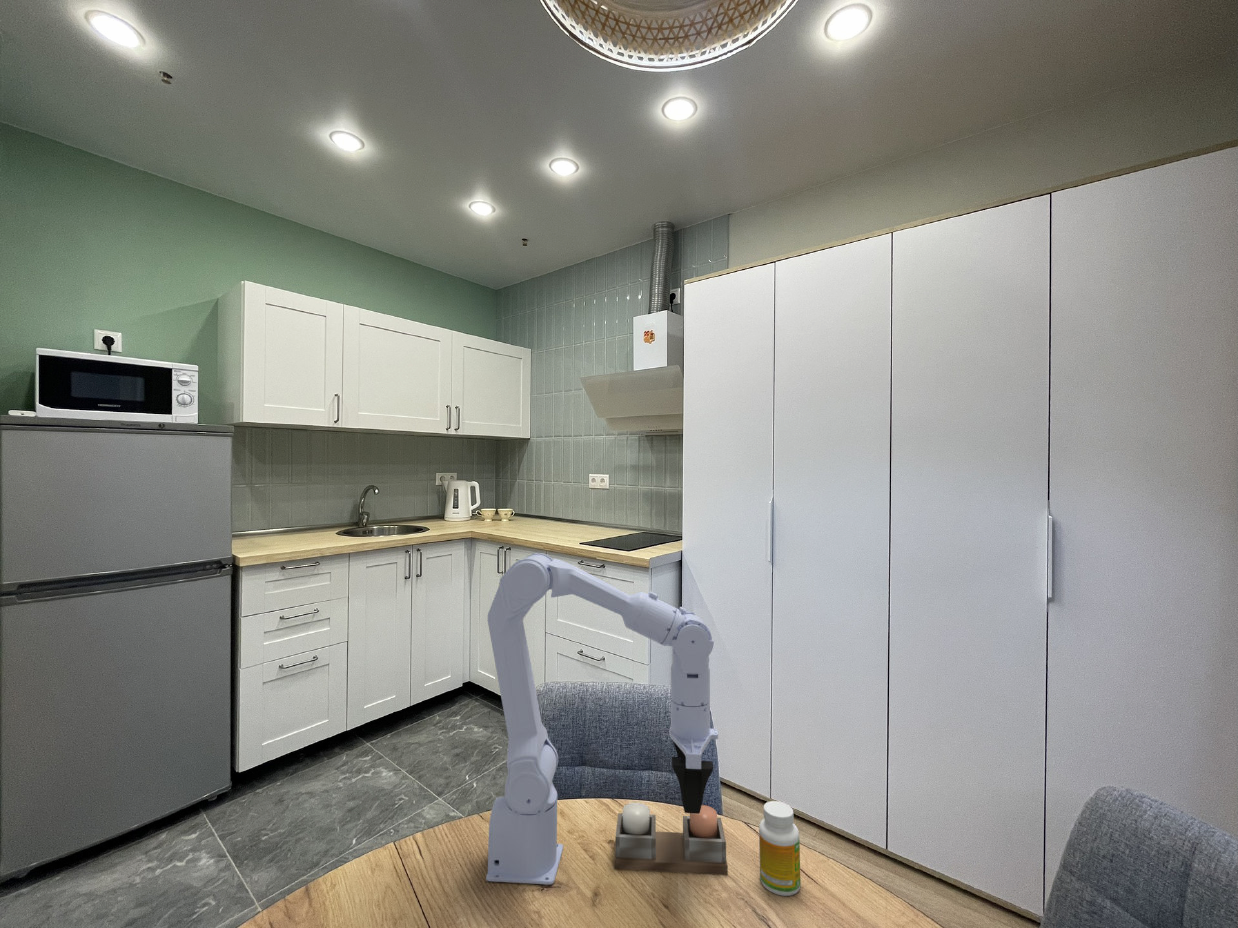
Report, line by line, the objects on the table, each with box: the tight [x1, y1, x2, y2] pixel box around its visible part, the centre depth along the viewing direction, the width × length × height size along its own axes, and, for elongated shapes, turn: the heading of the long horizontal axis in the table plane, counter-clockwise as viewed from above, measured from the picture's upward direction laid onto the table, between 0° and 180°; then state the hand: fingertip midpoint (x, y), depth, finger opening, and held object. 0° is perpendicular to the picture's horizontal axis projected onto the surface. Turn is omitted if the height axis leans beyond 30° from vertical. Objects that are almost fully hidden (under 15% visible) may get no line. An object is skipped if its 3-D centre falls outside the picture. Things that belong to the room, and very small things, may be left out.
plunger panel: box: [613, 812, 729, 876], centre depth 77 cm, size 16×7×4 cm, turn 86°
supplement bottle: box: [758, 800, 802, 897], centre depth 72 cm, size 5×5×10 cm
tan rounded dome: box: [689, 804, 718, 838], centre depth 77 cm, size 4×4×2 cm
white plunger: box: [622, 801, 651, 835], centre depth 78 cm, size 4×4×2 cm
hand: (690, 796), depth 75 cm, fingers open, 7 cm apart
